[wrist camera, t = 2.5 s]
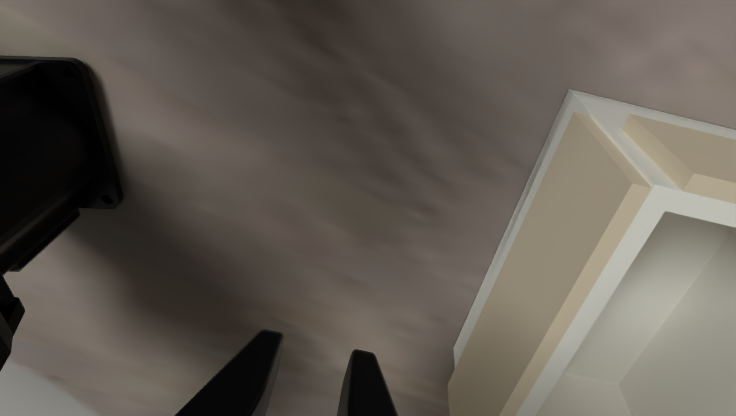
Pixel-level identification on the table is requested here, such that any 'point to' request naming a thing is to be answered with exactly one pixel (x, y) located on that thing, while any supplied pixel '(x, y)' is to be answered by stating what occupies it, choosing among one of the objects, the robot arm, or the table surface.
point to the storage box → (611, 275)
